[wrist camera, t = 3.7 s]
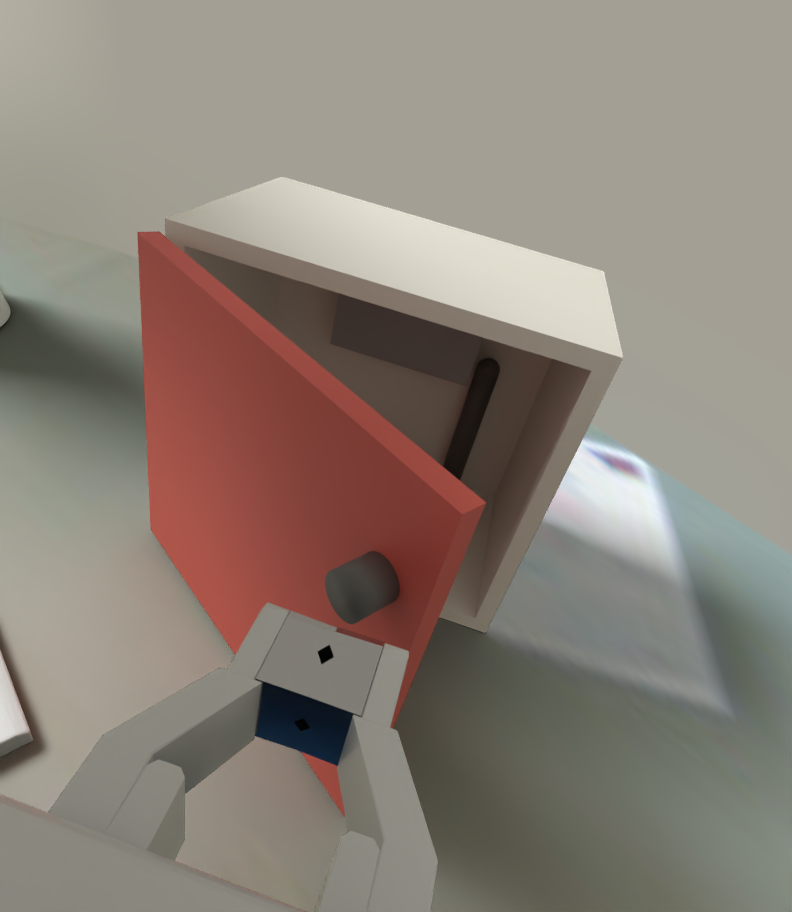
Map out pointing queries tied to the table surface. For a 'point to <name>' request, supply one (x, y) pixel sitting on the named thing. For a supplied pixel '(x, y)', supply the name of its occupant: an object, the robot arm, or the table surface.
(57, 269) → the table surface
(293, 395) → the door
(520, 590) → the table surface
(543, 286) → the cabinet
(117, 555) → the table surface
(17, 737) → the external hard drive
